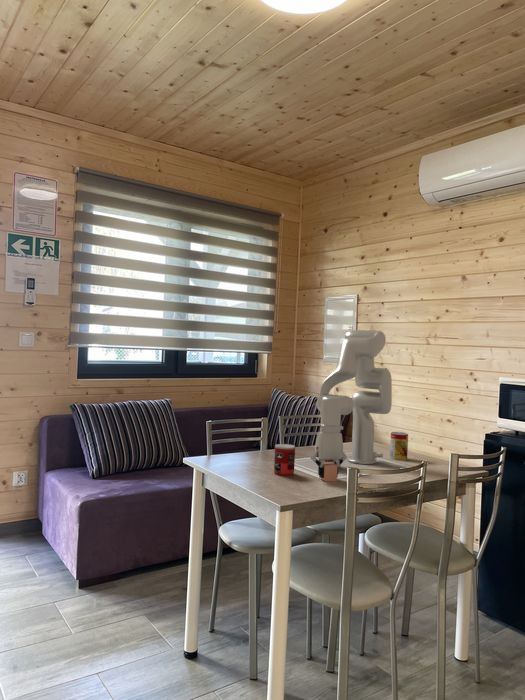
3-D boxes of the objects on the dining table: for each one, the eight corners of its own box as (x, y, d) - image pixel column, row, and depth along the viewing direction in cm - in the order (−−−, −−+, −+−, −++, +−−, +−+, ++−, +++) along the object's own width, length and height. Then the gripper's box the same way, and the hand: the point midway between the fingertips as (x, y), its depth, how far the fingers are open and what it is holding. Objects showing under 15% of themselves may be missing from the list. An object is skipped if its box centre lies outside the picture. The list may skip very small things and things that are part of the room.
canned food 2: (410, 460, 242) (411, 434, 242) (396, 460, 240) (397, 434, 240) (400, 456, 250) (401, 431, 250) (386, 457, 247) (387, 431, 247)
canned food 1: (272, 471, 209) (273, 443, 209) (292, 471, 210) (293, 444, 210) (274, 475, 202) (276, 447, 202) (295, 476, 202) (296, 447, 202)
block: (331, 477, 203) (332, 462, 203) (336, 481, 198) (337, 465, 198) (319, 478, 201) (320, 462, 201) (324, 481, 196) (325, 465, 196)
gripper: (346, 427, 205) (344, 473, 206) (305, 427, 201) (303, 475, 201) (354, 430, 198) (352, 478, 198) (313, 431, 193) (311, 480, 193)
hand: (328, 476), depth 199 cm, fingers closed on block, 5 cm apart
